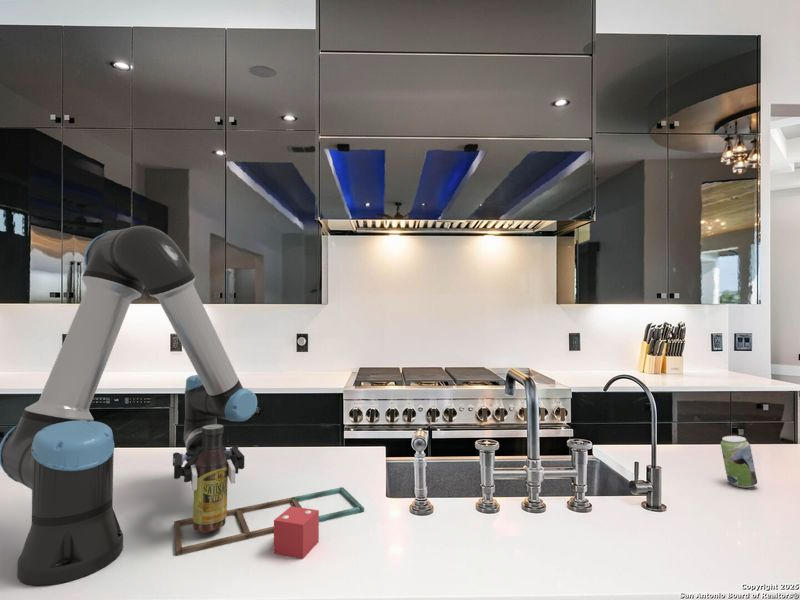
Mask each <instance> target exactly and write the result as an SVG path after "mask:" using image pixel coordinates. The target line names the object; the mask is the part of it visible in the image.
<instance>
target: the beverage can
mask: <svg viewBox="0 0 800 600" xmlns="http://www.w3.org/2000/svg"><path fill="white" fill-rule="evenodd" d="M721 439H722V440H721V441H720V447H721V448H720V449H721V454H722V457H723V463H724V468H725V474H726V478H727V482H729V484H731V485H733V486H734V487H739V488H742V489H743V488H753V487H754V486H755V485H757V484H758V479H757V473H756V468H755V464H754V458H753V453H752V446H751V443H750V442H749V441H748V440H747V438H746V437H744V436H742V435H741V436H740V435H726V436H723V437H722V438H721Z"/></svg>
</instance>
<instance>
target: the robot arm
mask: <svg viewBox="0 0 800 600" xmlns="http://www.w3.org/2000/svg"><path fill="white" fill-rule="evenodd" d="M83 259H84V260H83V261H84V265H85V267H86V268H85V269H84V272H83V274H82V277H81V280H82V282H83V284H84V287H85V290H84V294H83V296H82V299H81V301H80V303H79V305H78V308H77V310H76V313H75V314H74V317H73V319H72V322H71V324H70V327H69V329H68V332H67V333H66V336H65V339H64V340H63V343H62V344H61V348H60V350H59V352H58V354H57V357H56V360H55V362H54V364H53V366H52V368H51V370H50V373H49V376H48V378H47V380H46V383H45V385H44V388H43V389H42V392H41V395H40V396H39V400H37V401H36V402H34V403H32V404H30V405H28V406H27V407H25V408H24V410H23V412H22V415H21V417H20V419H19V422H18V424H16V425H15V426H13V427H12V428H11V429H10V430H9V431H8V432H7V433H6V434H5V435H4V437H3V438H2V440H1V442H0V467H1V469H2V470H3V471H4V473H6V475H7V477H8V478H9V479H11V480H12V481H14V482H17V483H19V484H21V485H23V486H25V487H27V488H29V489H30V490H31V525H30V528H29V531H28V534H27V537H26V538H25V542H24V545H23V548H22V551H21V554H20V556H19V557H18V560H17V567H16V568H17V570H16V571H17V572H16V576H17V579H18V580H19V582H21V583H23V584H26V585H31V586H50V585H55V584H61V583H66V582H69V581H73V580H77V579H79V578H82V577H85V576H88V575H90V574H93V573H95V572H97V571H99V570H101V569H102V568H105V567H106V566H108V565H110V564H111V563H112V562H114V561H115V560H116V559H117V558H119V557H120V555H121V553H122V552H123V549H124V533H123V531H122V528H121V526H120V522H119V520H118V518H117V515H116V513H115V511H114V510H115V509H114V508H113V504H114V503H113V496H114V495H113V494H114V493H113V491H114V490H113V489H114V451H115V442H114V435H113V431H112V428H111V427H110V426H109V425H108V424H105V423H103V422H100V421H95V420H94V417H93V415H92V413H91V412H90V406H91V404H92V401H93V399H94V396H95V394H96V391H97V389H98V387H99V384H100V382H101V379H102V376H103V374H104V371H105V368H106V366H107V364H108V361H109V359H110V356H111V353H112V351H113V348H114V346H115V343H116V341H117V338H118V335H119V333H120V330H121V329H122V326H123V322H124V321H125V318H126V315H127V312H128V310H129V308H130V305H131V302H133V301H135V300H137V299H139V298H141V297H142V295H143V293H144V290H145V289H146V290H147V293H148V295H149V296H150V297H152V298H156V299H157V300H158V302H159V304H160V306H161V308H162V309H163V312H164V313H165V316H166V317H167V320H168V321H169V323H170V325H171V326H172V328H173V330H174V332H175V335H176V336H177V338H178V340H179V342H180V343H181V346H182V348H183V349H184V351H185V353H186V355H187V357H188V358H189V361H190V363H191V365H192V367H193V368H194V370H195V372H196V375H190V376H188V377H187V378H186V380H185V391H184V431H183V437H182V439H183V442H184V444H185V450H186V452H185V453H180V452H176V451H175V452H174V453H172V466H173V479H174V480H179V479H180V478H181V477H183V482H184V483H189V482H190V483H191V489H192V491H194V490H197V471H196V467H195V465H196V461H197V458H198V456H199V454H200V453H201V452H202V445H203V435H202V427H203V426H207V425H214V424H218V422H217V421H218V419H217V418H219V419H224V420H228V421H230V422H245V421H248V420H249V419H250V418H252V417H253V415H254V414H255V413H256V410H257V408H258V398H257V395H256V394H255V393H254V392H253V391H252V390H249V389H248V388H244V387H243V385H242V383H241V381H240V379H239V377H238V375H237V373H236V371H235V368H234V367H233V365H232V364H233V363H232V362H231V360H230V358H229V355H228V354H227V352H226V350H225V348H224V346H223V344H222V341H221V340H220V337H219V336H218V333H217V331H216V329H215V327H214V325H213V323H212V321H211V318H210V316H209V314H208V313H207V310H206V308H205V306H204V304H203V301H202V300H201V297H200V295H199V293H198V291H197V289H196V287H195V285H194V284H195V281H196V275H195V273H194V271H193V269H192V267H191V266H190V264H189V261H188V260H187V258H186V257H185V255H184V253H183V252H182V250H181V248H180V247H179V246H178V245H177V244H176V242H175V241H174V240H173V239H172V237H170V236H169V235H168V234H166V233H165V232H164V231H162V230H160V229H158V228H156V227H153V226H148V225H135V226H131V227H127V228H122V229H115V230H113V229H112V230H108V231H106V232H103V233H102V234H100V235H98V236H96V237H95V238H93V239H92V240H91V241H90V242H89V243H88V245H87V247H86V248H85V251H84V256H83ZM223 450H224V453H225V455H226V460H227V465H228V480H229V482H230V484H231V485H233V484H236V474H237V475H238V474H239V470H243V469H245V455H244V454H243V453H242V452H241V451H240V448H239V445H237V444H234V445H232V446H230V447H229V448H226V446H223ZM185 461H186V463H185V464H184V462H185Z"/></svg>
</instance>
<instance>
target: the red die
mask: <svg viewBox="0 0 800 600" xmlns="http://www.w3.org/2000/svg"><path fill="white" fill-rule="evenodd" d="M319 512H320V511H319V509H313V508H306V507H302V508H300V507H294V506H293V505H291V506H289V507H288V508H287V509H285V511H283V512H282V513H281V514H279V515H278V516H277V517H276V518H275V519H273V526H274V533H273V554H274V555H275V554H276V555H280V556H284V557H291V558H298V559H304V558H305V557H307V555H308V554H309V553H310V552H311V551H312V550H313V549H314V548H315V546H317V544H318V543H319V541H320V539H319V537H320V536H319V535H320V529H319V528H320V527H319V526H320V525H319V524H320V522H319V516H320V515H319V514H320V513H319Z"/></svg>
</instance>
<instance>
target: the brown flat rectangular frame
mask: <svg viewBox="0 0 800 600" xmlns="http://www.w3.org/2000/svg"><path fill="white" fill-rule="evenodd" d="M335 494H336V495H337V494H341V495H342V496H343V497H344V498H346V500H347V501H349V503H350V504H351V505H352V506H353V507H352V508H347V509H344V510H340V511H335V512H330V513H327V514H322V515H319V523H322V522H325V521H330V520H333V519H337V518H343V517H347V516H351V515H355V514H359V513H363V512H365V507H364V506H363V505H362V503H360V502H359V501H358V500H357V499H356V498H355V497H354V496H353V495H352V494H351V493H350V492H349V491H348V490H347V489H346V488H345V487H344V486H341V487H336V488H330V489H328V490H321V491H317V492H312V493H307V494H301V495H298V496H297V495H296V496H292V497H287V498H283V499H277V500H273V501H267V502H263V503H258V504H252V505H248V506H243V507H238V508H233V509H229V510H228V509H227V516H226V517H230V516H234V515H236V517H237V521H238V523H239V526H240V528H241V532H242V533H239V534H235V535H230V536H226V537H222V538H217V539H212V540H208V541H203V542H200V543H194V544H191V545H186V546H183V543H182V534H181V533H182V531H181V527H182V526H186V525H191V524H192V525H193V523H194V521H193V517H189V518H184V519H179V520H175V521H173V528H174V543H175V544H174V545H175V556H182V555H184V554H185V555H186V554H191V553H194V552H198V551H201V550H202V551H203V550H207V549H210V548H211V549H212V548H214V547H219V546H220V547H221V546H224V545H227V544H232V543H235V542H236V543H237V542H241V541H246V540H249V539H253V538H258V537H261V536H266V535H269V534H274V525H273V526H269V527H265V528H261V529H257V530H251V531H250V529H249V526H248V524H247V521H246V518H245V517H244V514H245V513H249V512H254V511H258V510H264V509H269V508H273V507H279V506H283V505H288V504H291V506H292V507H300V508H303V507H302V505H301V504H300V503H299V502H302V501H306V500H307V501H308V500H312V499H317V498H323V497H325V496H326V497H327V496H330V495H335Z"/></svg>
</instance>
